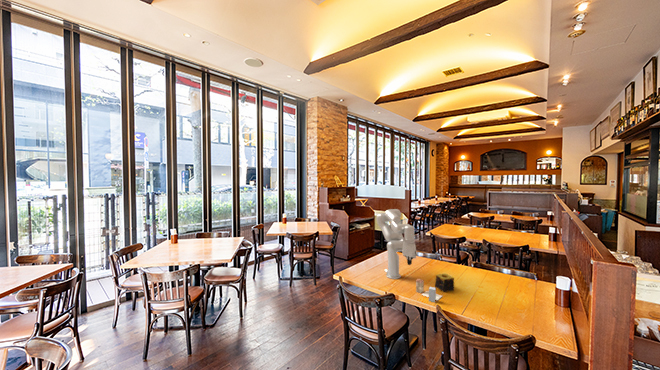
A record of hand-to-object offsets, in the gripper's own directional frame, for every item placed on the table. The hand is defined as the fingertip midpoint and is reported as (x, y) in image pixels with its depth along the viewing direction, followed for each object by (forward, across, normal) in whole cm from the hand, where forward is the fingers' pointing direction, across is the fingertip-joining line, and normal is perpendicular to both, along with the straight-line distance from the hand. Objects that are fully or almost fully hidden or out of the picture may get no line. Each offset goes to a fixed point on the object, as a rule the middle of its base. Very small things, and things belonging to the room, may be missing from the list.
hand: (409, 264), depth 204 cm
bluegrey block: (+20, +22, -7) cm, 30 cm away
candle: (+20, +20, +19) cm, 34 cm away
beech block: (+19, +8, 0) cm, 21 cm away
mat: (+19, +18, 0) cm, 26 cm away
